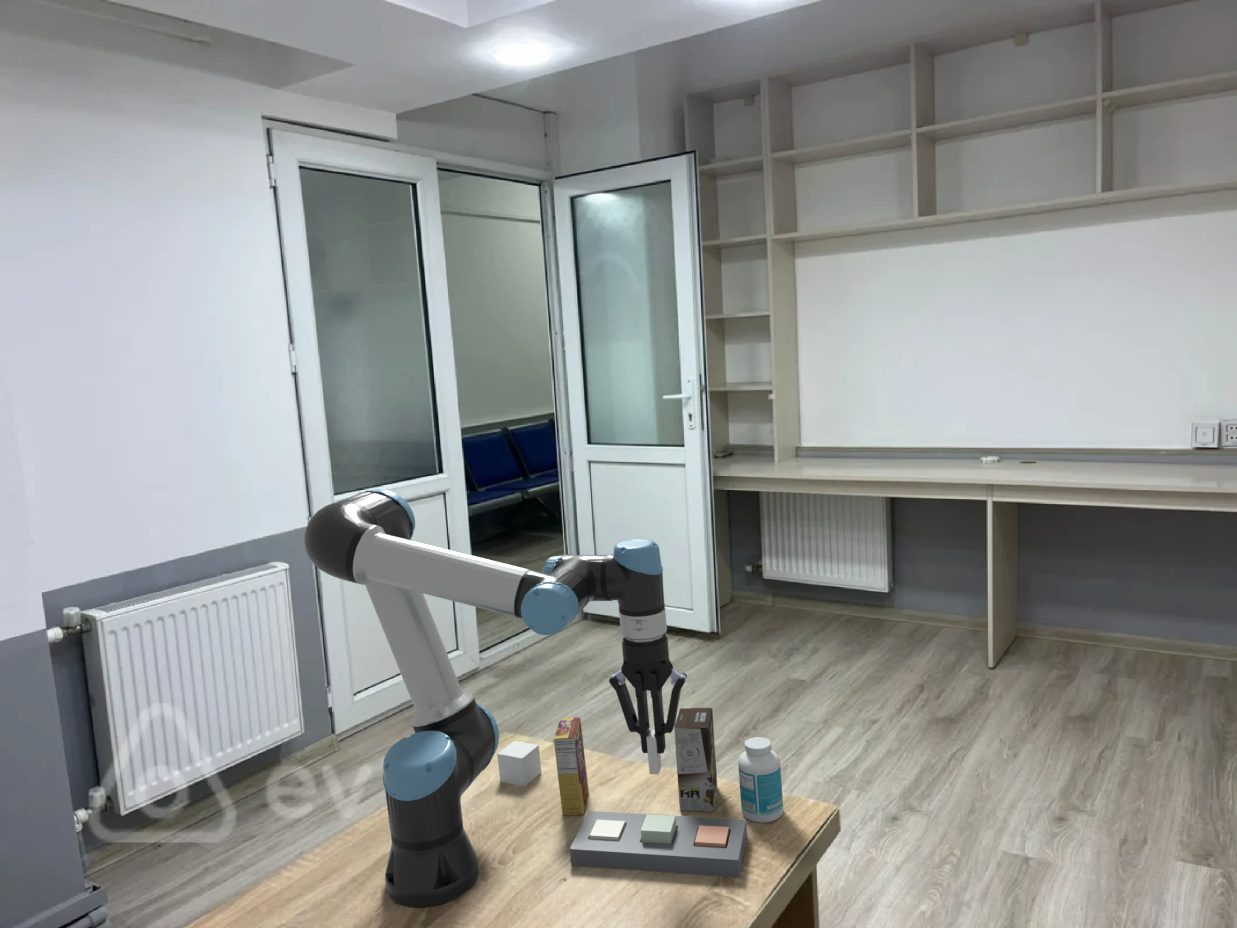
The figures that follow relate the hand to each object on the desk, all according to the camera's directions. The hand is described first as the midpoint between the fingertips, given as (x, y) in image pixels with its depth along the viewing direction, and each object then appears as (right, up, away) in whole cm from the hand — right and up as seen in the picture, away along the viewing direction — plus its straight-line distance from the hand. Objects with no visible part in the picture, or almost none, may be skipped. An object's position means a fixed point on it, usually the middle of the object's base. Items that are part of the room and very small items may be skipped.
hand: (655, 770), depth 153 cm
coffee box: (+9, -12, +18) cm, 23 cm away
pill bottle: (+20, -12, +11) cm, 26 cm away
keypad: (+1, -14, +2) cm, 15 cm away
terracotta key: (+10, -14, 0) cm, 17 cm away
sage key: (+1, -13, +2) cm, 13 cm away
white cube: (-26, -12, +32) cm, 43 cm away
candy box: (-14, -13, +20) cm, 28 cm away
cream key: (-8, -15, +4) cm, 17 cm away
